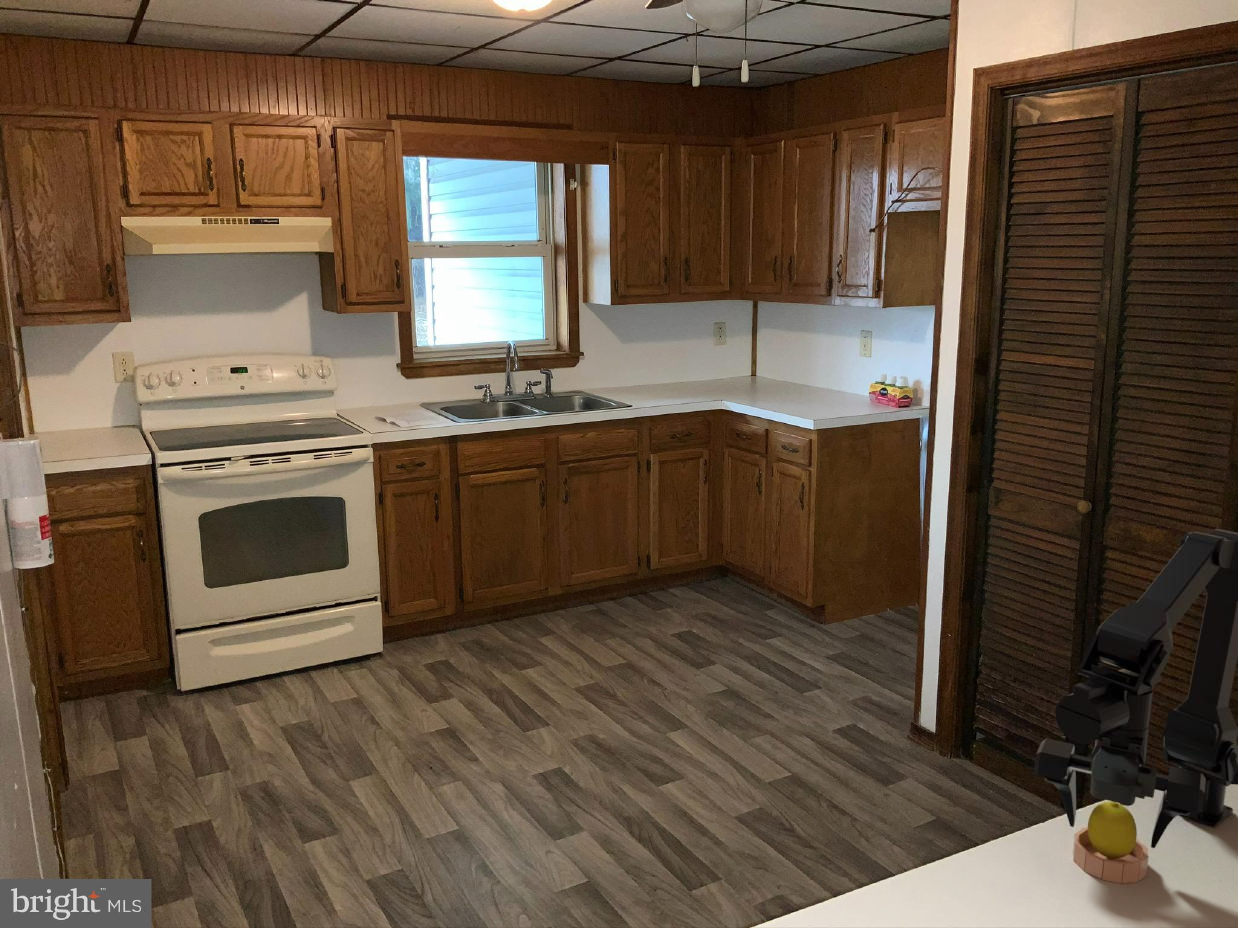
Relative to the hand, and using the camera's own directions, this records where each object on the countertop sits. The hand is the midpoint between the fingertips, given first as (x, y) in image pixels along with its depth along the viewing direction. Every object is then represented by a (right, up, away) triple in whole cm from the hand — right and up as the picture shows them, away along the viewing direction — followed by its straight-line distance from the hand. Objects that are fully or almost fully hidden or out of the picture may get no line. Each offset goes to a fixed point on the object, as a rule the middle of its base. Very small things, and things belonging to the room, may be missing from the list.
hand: (1111, 835), depth 127 cm
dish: (0, -4, +1) cm, 4 cm away
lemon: (0, -3, +1) cm, 3 cm away
